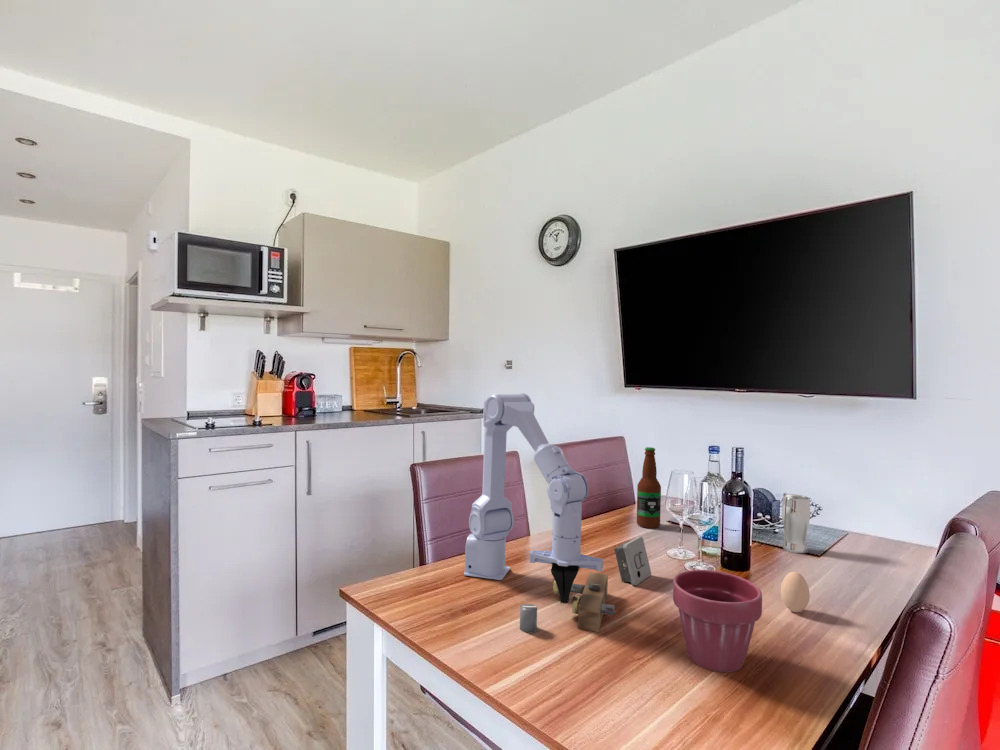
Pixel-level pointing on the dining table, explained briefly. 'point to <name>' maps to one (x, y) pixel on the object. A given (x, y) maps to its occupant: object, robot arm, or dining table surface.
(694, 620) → the plant pot
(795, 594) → the egg
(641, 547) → the electrical switch
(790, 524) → the beer glass
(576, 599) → the near plunger
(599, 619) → the wooden board with knobs
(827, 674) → the dining table surface
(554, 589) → the far plunger
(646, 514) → the bottle
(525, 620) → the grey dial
